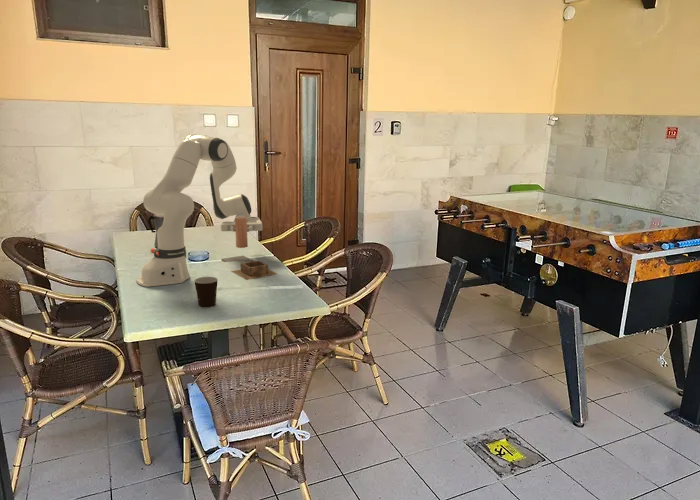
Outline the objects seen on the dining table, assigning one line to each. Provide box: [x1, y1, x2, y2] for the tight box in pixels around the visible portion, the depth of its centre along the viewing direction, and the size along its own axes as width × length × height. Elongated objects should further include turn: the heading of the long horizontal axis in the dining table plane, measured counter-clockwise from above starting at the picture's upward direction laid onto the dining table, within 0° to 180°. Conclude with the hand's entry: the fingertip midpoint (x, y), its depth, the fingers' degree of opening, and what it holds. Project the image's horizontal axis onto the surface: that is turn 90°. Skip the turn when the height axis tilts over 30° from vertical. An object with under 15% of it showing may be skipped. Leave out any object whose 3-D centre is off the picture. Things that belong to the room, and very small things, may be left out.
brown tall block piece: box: [234, 217, 249, 249], centre depth 254 cm, size 8×6×14 cm
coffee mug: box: [194, 276, 218, 309], centre depth 204 cm, size 12×9×10 cm
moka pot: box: [147, 214, 164, 248], centre depth 288 cm, size 10×15×20 cm, turn 148°
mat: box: [221, 255, 255, 263], centre depth 265 cm, size 12×12×1 cm
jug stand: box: [230, 260, 278, 281], centre depth 242 cm, size 16×16×5 cm
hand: (241, 229), depth 254 cm, fingers closed on brown tall block piece, 6 cm apart
